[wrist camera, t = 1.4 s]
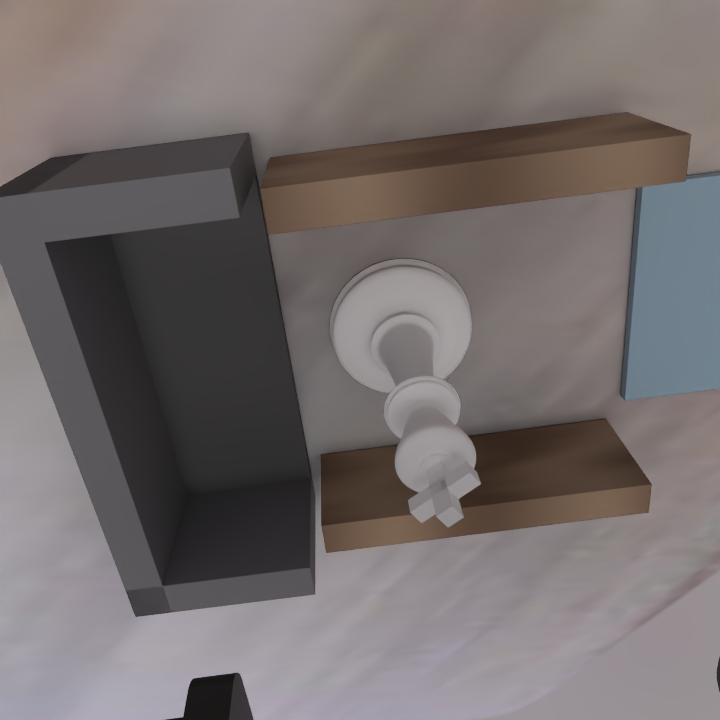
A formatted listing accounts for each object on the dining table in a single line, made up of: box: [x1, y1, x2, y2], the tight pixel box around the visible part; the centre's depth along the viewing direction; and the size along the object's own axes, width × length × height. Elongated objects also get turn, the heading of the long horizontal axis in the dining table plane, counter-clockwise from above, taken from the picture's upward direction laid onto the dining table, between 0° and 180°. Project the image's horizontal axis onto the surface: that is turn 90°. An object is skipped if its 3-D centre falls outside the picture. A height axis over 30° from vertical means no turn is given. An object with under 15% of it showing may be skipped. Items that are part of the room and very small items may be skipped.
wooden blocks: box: [260, 112, 691, 553], centre depth 22 cm, size 11×12×4 cm
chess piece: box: [330, 259, 481, 527], centre depth 19 cm, size 5×5×10 cm
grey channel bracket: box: [0, 133, 315, 617], centre depth 21 cm, size 6×14×5 cm, turn 6°
